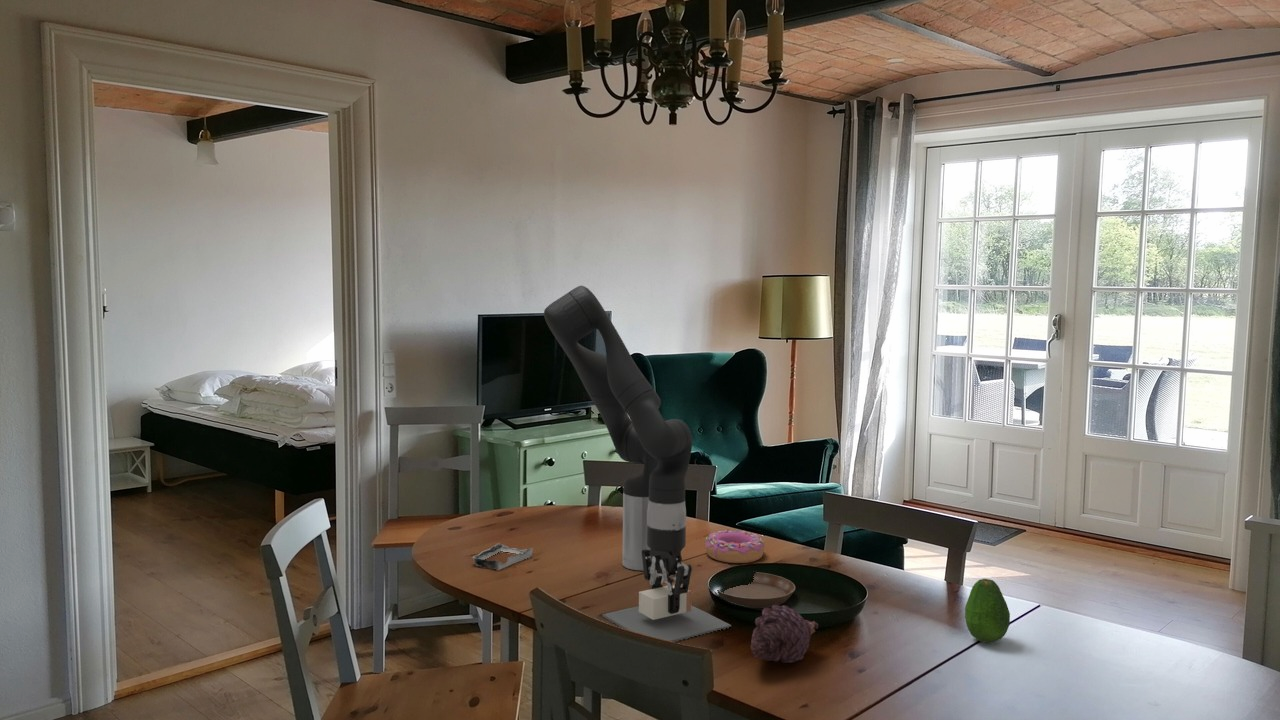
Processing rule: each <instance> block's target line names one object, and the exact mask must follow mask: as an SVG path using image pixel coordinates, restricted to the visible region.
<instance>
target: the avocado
mask: <svg viewBox="0 0 1280 720" xmlns="http://www.w3.org/2000/svg"><path fill="white" fill-rule="evenodd" d="M1010 615H1011V612H1010V610H1009V607H1008V603H1007V602H1006V600H1005V597H1004V595H1003V593H1002V591H1001V589H1000V587H999V584H998V583H996V582H995V581H994V580H993V579H990V578H981V579H978V580H977V581H976V582H975V583H974V585H972V587H971V590H970V593H969V596H968V598H967V601H966V604H965V606H964V619H965V623H966V627H967V630H968V631H969V633H970V635H971V637H973V638H974V639H975V640H977V641H978V642H982V643H989V644H991V643H995V642H998V641H1000V640H1001V639H1002V638H1004V637H1005V635H1006V634H1007V632H1008V630H1009V627H1010V623H1011V619H1010V618H1011V616H1010Z"/></svg>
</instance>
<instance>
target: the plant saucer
mask: <svg viewBox="0 0 1280 720" xmlns="http://www.w3.org/2000/svg"><path fill="white" fill-rule="evenodd" d="M755 572H756V573H755V574H754V576H753V577H754V578H753V579H754V580H753V582H751V584H750V583H749V584H748V585H740V586H736V587H733V588H729V589H727V590H725V591H724V593H723V592H721V591H719V590H717V591H718V593H719V595H720V596H721V597H722V598H724V599H726V600H727V601H730V602H733V603H736V604H739V605H744V606H747V607H752V608H751V609H764V608H772V606H773V605H779V606H782V605H783V604H784V603H785V602H786V601H788V599H789V598H790V597H791V596H792V595H793V593H794V592H795V591H796V585H795V584H794V582H792V581H791V580H790V579H787V578H785V577H783V576H779V575H776V574H772V573H766V572H759V571H758V572H757V571H755Z"/></svg>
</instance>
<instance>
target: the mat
mask: <svg viewBox="0 0 1280 720" xmlns="http://www.w3.org/2000/svg"><path fill="white" fill-rule="evenodd" d="M602 618H604V619H606V620H607V621H609V622H610V623H612V624H614V623H616V624H615V625H616V626H617V627H619V628H621V627H622V628H625V629H628V630H631V631H635V632H638V633H641V634H645V635H649V636H652V637H656V638H660V639H664V640H668V641H673V642H674V643H677V642H679V641H677V640H681V641H684V640H683V639H685V640H688V638H689V639H691V638H690V637H693V638H695V637H694V636H697V637H699V636H698V635H701V636H703V635H702V634H704V635H706V634H705V633H708V634H711V633H710V632H712V633H714V632H713V631H716V632H718V631H717V630H720V631H722V630H721V629H723V630H726V628H727V629H730V628H729V627H731V628H732V624H729V623H728V622H725V621H724V620H722V619H720V618H718V617H716V616H714V615H712V614H710V613H708V612H706V611H704V610H702V609H700V608H698V607H696V606H694V605H692V604H691V611H689V612H685V613H680V614H676V615H672V616H668V617H664V618H659V619H655V620H652V619H651V618H649V617H647V616H645V615H644V614H642V613H640V612H639V605H638V606H633V607H628V608H623V609H619V610H616V611H612V612H606V613H603V614H602ZM627 627H628V628H627ZM622 628H621V629H622ZM633 629H634V630H633ZM637 630H638V631H637Z"/></svg>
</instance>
